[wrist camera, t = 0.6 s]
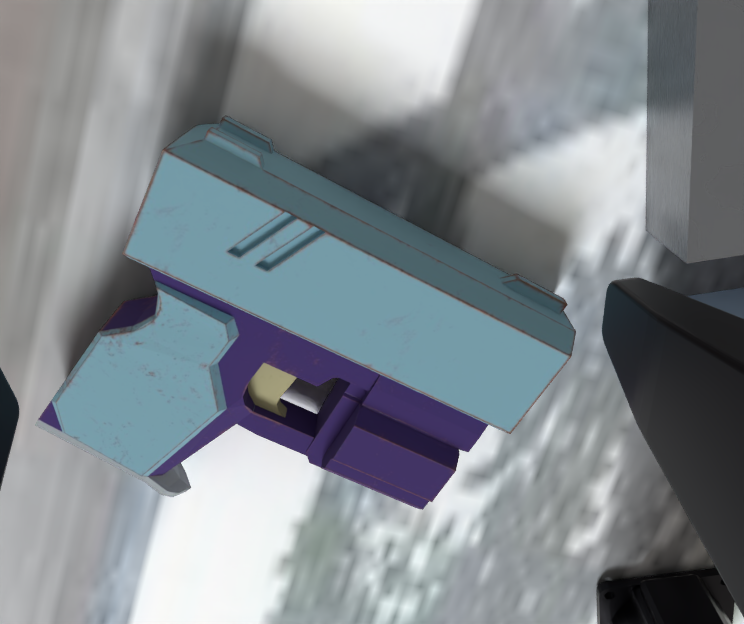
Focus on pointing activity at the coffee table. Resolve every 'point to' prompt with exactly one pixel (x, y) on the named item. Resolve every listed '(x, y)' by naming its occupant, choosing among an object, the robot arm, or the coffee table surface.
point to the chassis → (696, 127)
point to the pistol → (303, 329)
